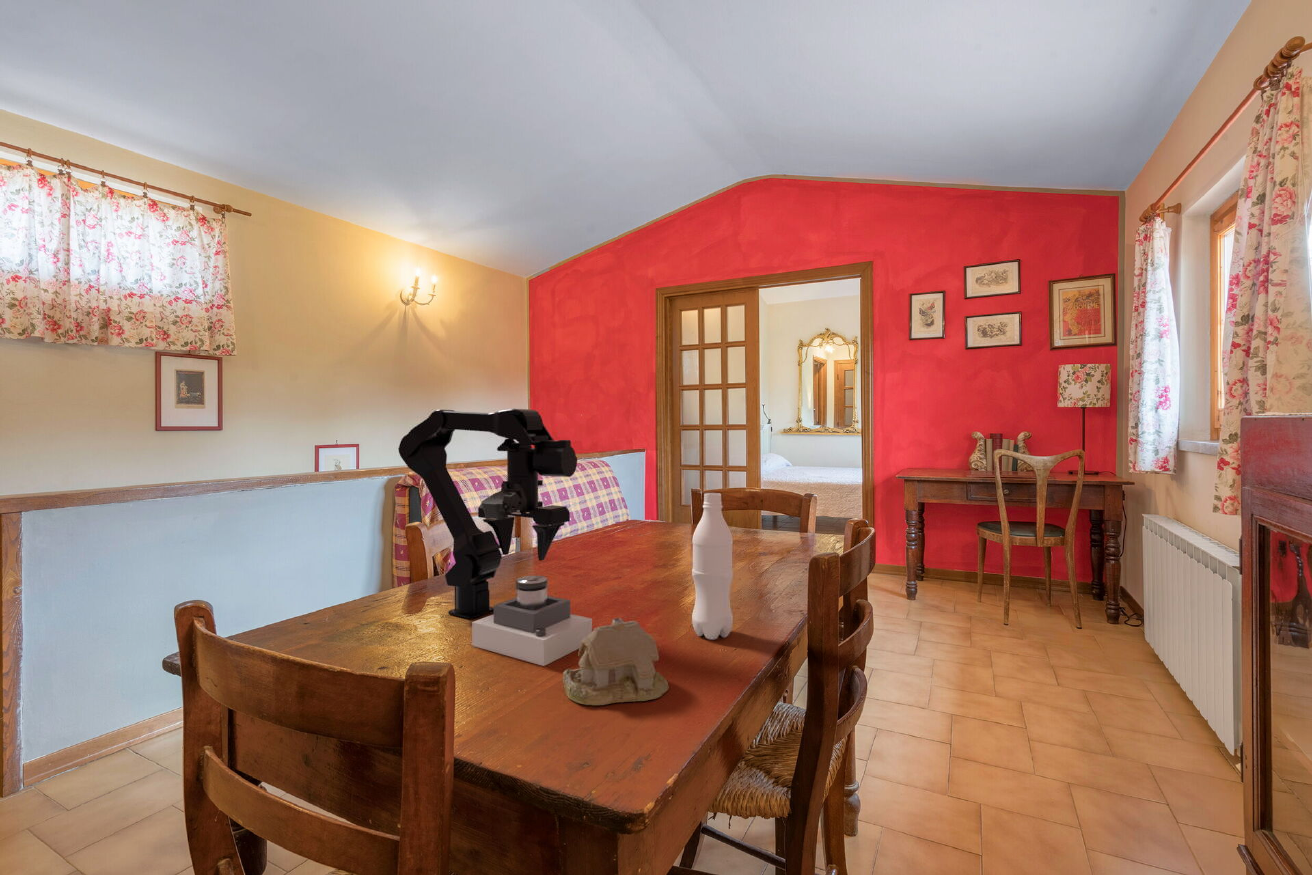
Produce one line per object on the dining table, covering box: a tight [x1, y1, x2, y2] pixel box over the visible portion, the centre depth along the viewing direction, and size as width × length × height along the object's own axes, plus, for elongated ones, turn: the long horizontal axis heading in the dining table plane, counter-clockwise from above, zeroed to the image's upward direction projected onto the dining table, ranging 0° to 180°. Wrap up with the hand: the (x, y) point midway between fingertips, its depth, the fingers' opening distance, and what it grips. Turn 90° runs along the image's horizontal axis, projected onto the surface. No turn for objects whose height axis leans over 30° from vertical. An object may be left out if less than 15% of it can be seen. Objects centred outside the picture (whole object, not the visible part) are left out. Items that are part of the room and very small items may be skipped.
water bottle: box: [691, 492, 734, 641], centre depth 104 cm, size 7×7×25 cm
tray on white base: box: [471, 595, 593, 667], centre depth 100 cm, size 16×12×7 cm
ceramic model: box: [562, 617, 670, 706], centre depth 83 cm, size 14×11×10 cm
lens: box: [515, 575, 548, 611], centre depth 100 cm, size 5×5×7 cm
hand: (523, 557), depth 112 cm, fingers open, 9 cm apart
